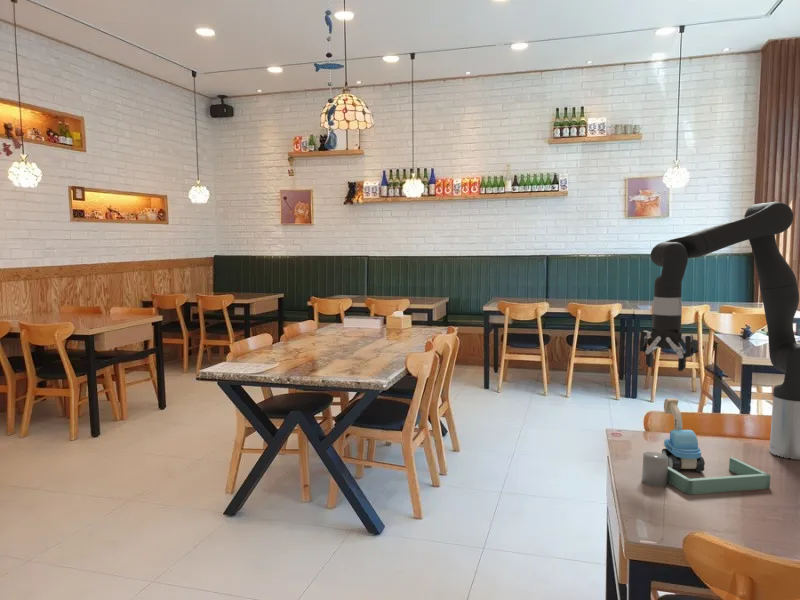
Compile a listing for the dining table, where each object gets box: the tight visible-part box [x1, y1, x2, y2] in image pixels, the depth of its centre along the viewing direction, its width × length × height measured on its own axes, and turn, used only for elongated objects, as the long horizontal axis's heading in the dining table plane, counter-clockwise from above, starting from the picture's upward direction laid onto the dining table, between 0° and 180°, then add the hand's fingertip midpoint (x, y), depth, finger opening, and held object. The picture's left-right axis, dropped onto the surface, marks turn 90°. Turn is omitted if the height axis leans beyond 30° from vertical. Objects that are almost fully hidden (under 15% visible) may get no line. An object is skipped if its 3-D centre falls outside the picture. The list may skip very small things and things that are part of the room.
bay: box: [667, 457, 771, 496], centre depth 154 cm, size 23×13×4 cm, turn 101°
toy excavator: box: [661, 397, 706, 473], centre depth 166 cm, size 9×17×17 cm, turn 174°
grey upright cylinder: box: [641, 451, 669, 488], centre depth 153 cm, size 6×6×7 cm
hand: (665, 368), depth 169 cm, fingers open, 8 cm apart
